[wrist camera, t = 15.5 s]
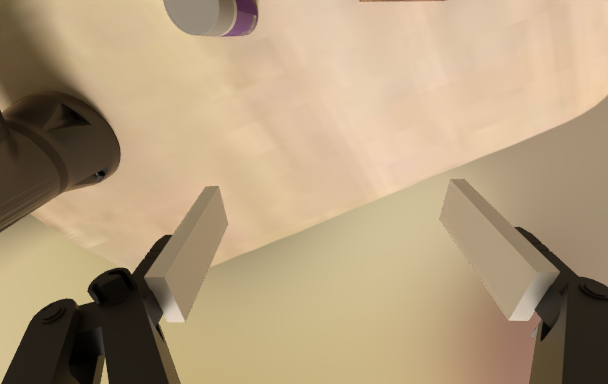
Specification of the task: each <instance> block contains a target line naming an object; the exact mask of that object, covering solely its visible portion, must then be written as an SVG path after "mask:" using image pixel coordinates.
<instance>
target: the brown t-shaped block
mask: <svg viewBox="0 0 608 384" xmlns="http://www.w3.org/2000/svg"><path fill="white" fill-rule="evenodd" d="M376 1H445V0H360V2H376Z"/></svg>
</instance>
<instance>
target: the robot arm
mask: <svg viewBox="0 0 608 384" xmlns="http://www.w3.org/2000/svg"><path fill="white" fill-rule="evenodd" d="M119 162H120V149H119V145H118V142H117V139H116V137H115V135H114V133H113V131H112V130H111V128H110V127H109V125H108V124H107V123H106V121H105V120H104V119H103V118H102V117H101V116H100V115H99V114H98V113H97V112H96V111H95V110H93V109H92V108H91V107H89V106H88V105H86V104H85V103H83V102H82V101H80V100H78V99H76V98H74V97H71V96H69V95H66V94H62V93H57V92H42V93H38V94H33V95H29V96H26V97H23V98H21V99H19V100H18V101H16V102H15V103H14V104H13V105H11V106H10V107H9V108H7V109H6V110H5V111H3V112H2V113H1V110H0V232H1V231H3V230H5V229H6V228H8V227H9V226H11V225H13V224H14V223H16V222H17V221H19V220H20V219H22V218H23V217H25V216H27V215H28V214H30V213H31V212H33V211H34V210H36V209H37V208H39V207H41V206H42V205H44V204H45V203H47V202H48V201H50V200H51V199H53V198H55V197H56V196H58V195H59V194H61V193H63V192H66V191H70V190H75V189H79V188H83V187H87V186H91V185H95V184H97V183H100V182H102V181H103V180H105V179H106V178H108V177H109V176H111V175H112V174H113V173H114V172H115V171H116V169H117V168H118V166H119ZM440 220H441V222H442V224H443V225H444V227H445V228H446V230H447V231H448V233H449V234H450V235H451V237H452V238H453V239H454V241H455V243H456V244H457V246H458V247H459V248H460V250H461V251H462V253H463V254H464V256H465V257H466V259H467V260H468V262H469V263H470V265H471V266H472V268H473V269H474V271H475V272H476V274H477V275H478V277H479V278H480V280H481V281H482V282H483V284H484V285H485V287H486V288H487V290H488V291H489V293H490V294H491V296H492V297H493V298H494V300H495V302H496V303H497V304H498V306H499V307H500V309H501V310H502V312H503V313H504V314H505V316H506V318H507V319H508V320H509V321H516V320H517V321H518V320H519V321H520V320H521V321H523V320H524V321H526V320H529V319H530V317H531V316H532V314H533V313H534V311H536V312H537V314H538V315H539V316H540V317H541V319H542V320H541V321H540V323H539V324H538V326H537V327H536V329H535V330H534V331H533V333H532V335H531V337H532V338H534V337H535V336H536V335H537V336H536V344H535V350H534V356H533V363H532V369H531V376H530V383H529V384H608V287H607V286H605V285H604V284H602V283H599V282H597V281H595V280H593V279H589V278H585V277H579V276H577V275H576V274H575V273H574V272H573V271H572V270H571V269H570V268H569V267H568V266H566V265H565V264H564V263H563V262H562V261H561V260H560V259H559V258H558V257H557V256H556V255H554V254H553V253H552V252H550V251H549V249H548V248H547V247H546V246H545V245H543V244H542V243H541V242H540V241H539V240H538V239H537V238H536V237H535V236H534V235H533V234H531V233H529V232H527V231H526V230H524V229H522V228H520V227H513V226H512V225H511V224H510V223H509V222H508V221H507V220H506V219H505V218H504V217H503V216H502V215H501V214H500V213H498V211H497V210H496V209H494V207H493V206H491V204H489V203H488V202H487V201H486V200H485V199H484V198H483V197H482V196H481V195H480V194H479V193H478V192H477V191H476V190H475V189H474V188H473V187H472V186H471V185H469V183H468V182H467V181H465V180H464V179H455V180H454V179H452V180H450V183H449V186H448V189H447V193H446V197H445V200H444V204H443V208H442V212H441V215H440ZM227 225H228V221H227V217H226V213H225V209H224V205H223V201H222V197H221V193H220V189H219V186H209V187H205V189H204V190H203V191H202V193H201V194H200V196H199V197H198V199H197V200H196V202H195V203H194V205H193V206H192V208H191V209H190V211H189V212H188V213H187V215H186V216H185V218H184V219H183V221H182V222H181V224H180V225H179V227H178V228H177V230H176V231H175V232H174V234H173V235H164V236H163V237H162V238H161V239H159V240H158V241H157V242H156V243H155V244H154V245H153V247H152V248H151V249H150V252H148V253H147V255H146V256H145V259H143V260H142V261H141V263H140V264H139V265H138V267H137V268H136V270H135V271H134V272H133V274H132V275H131V273H130V271H129V270H128V269H126V268H115V269H111V270H108V271H106V272H104V273H102V274H101V275H99V276H98V277H97V278H95V279H94V280H93V281H92V283H91V284H90V285H89V287H88V293H89V294H90V296H91V297H92V299H93V300H94V301H95V302H91V303H88V304H84V305H80V306H78V305H77V303H76V302H75V301H74V300H73V299H62V300H58V301H56V302H53V303H51V304H49V305H48V306H46V307H44V308H43V309H41V310H40V311H39V312H38V313H37V314H36V315H35V316H34V317H33V319H32V320H31V321H30V323H29V325H28V327H27V330H26V332H25V334H24V336H23V338H22V340H21V342H20V345H19V347H18V349H17V351H16V353H15V355H14V358H13V360H12V362H11V364H10V366H9V368H8V370H7V372H6V375H5V377H4V379H3V381H2V383H1V384H100V382H101V377H102V371H103V365H104V360H105V359H106V365H107V373H108V380H109V384H181V383H180V380H179V378H178V375H177V372H176V369H175V366H174V363H173V360H172V358H171V355H170V352H169V349H168V346H167V343H166V341H165V338H164V335H163V332H162V329H161V327H160V325H159V321H160V319H161V317H162V315H164V316H165V318H166V320H167V322H186V319H187V317H188V315H189V312H190V310H191V308H192V306H193V303H194V301H195V299H196V296H197V294H198V292H199V290H200V287H201V285H202V283H203V280H204V278H205V276H206V273H207V271H208V269H209V267H210V264H211V262H212V260H213V257H214V255H215V253H216V250H217V248H218V246H219V244H220V241H221V239H222V237H223V234H224V232H225V230H226V227H227Z"/></svg>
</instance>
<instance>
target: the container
mask: <svg viewBox="0 0 608 384" xmlns="http://www.w3.org/2000/svg"><path fill="white" fill-rule="evenodd" d="M163 1H164V5H165V9H166V11H167V13H168V15H169V17H170V19H171V20H172V22H173V23H174V24H175V25H176V26H177V27H178V28H179V29H180V30H182V31H183V32H185V33H187V34H190V35H195V36H214V37H224V36H244V35H248V34H250V33H251V32H252V31H253V30H254V29H255V27H256V25H257V21H258V11H257V7H256V5H255V3H254V1H253V0H163Z"/></svg>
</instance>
